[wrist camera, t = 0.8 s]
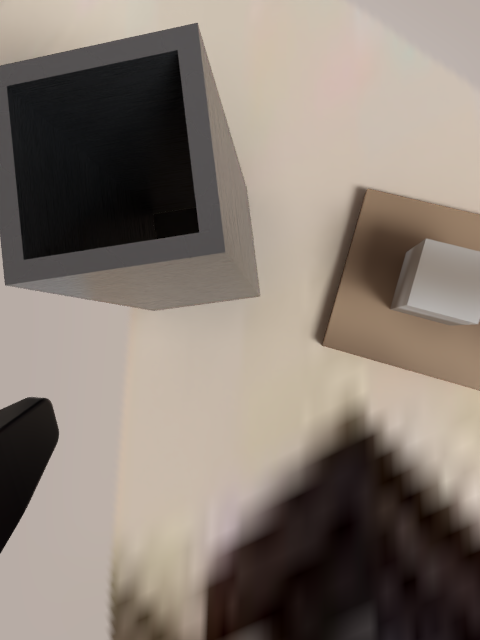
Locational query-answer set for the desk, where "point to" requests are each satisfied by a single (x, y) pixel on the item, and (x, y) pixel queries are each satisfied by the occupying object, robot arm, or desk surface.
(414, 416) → the desk surface
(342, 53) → the desk surface
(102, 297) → the socket sleeve
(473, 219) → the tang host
